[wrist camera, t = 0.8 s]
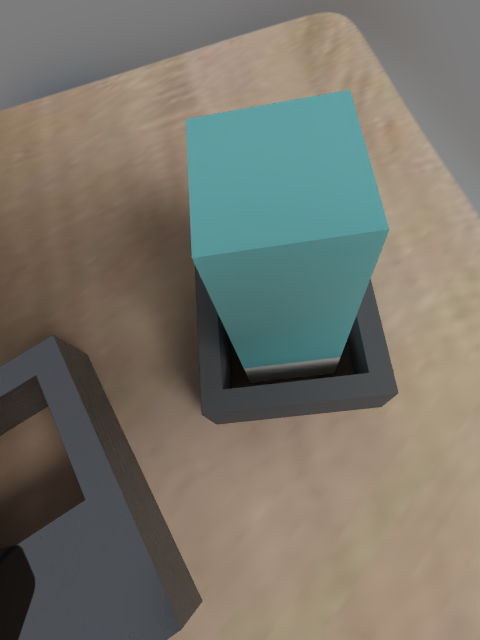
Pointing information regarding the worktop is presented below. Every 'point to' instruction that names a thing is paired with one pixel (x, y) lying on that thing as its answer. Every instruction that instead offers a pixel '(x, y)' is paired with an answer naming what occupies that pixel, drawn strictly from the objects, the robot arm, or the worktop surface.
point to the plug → (285, 229)
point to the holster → (299, 396)
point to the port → (94, 515)
